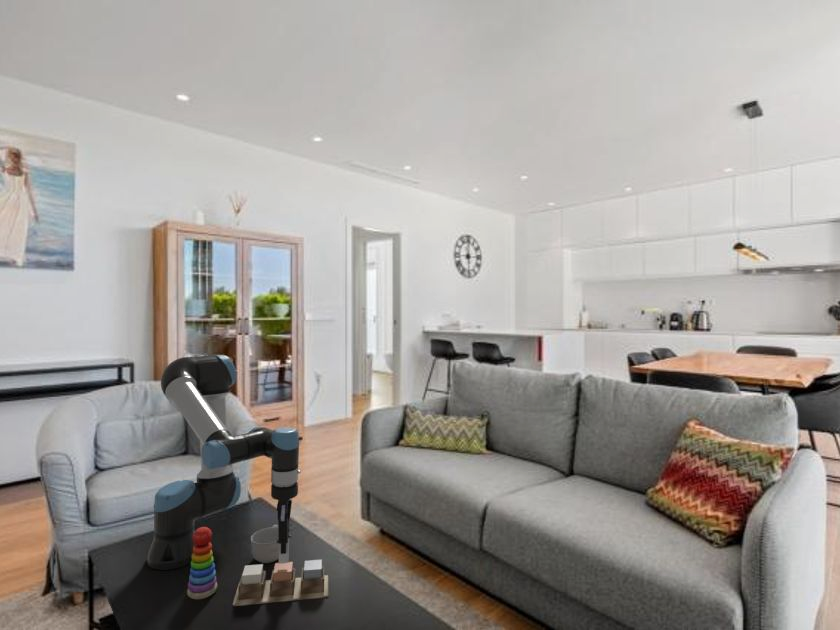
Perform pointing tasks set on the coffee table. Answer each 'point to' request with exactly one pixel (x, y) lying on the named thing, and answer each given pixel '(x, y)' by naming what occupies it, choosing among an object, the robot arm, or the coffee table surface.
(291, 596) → the button board
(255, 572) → the button cream
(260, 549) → the teacup
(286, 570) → the button terracotta
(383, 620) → the coffee table surface
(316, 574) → the button slate
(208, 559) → the stacking toy
